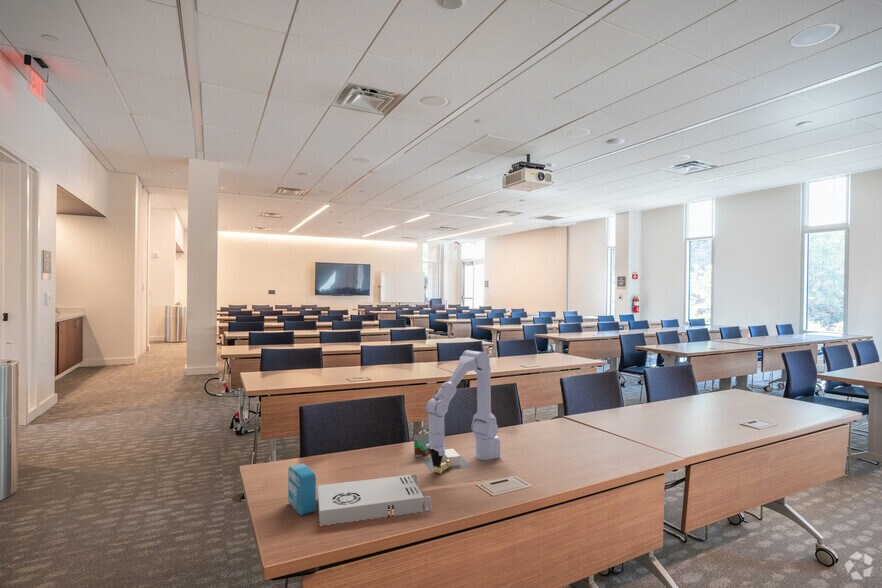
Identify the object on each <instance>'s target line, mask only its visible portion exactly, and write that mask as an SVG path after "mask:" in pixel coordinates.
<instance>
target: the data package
mask: <svg viewBox="0 0 882 588" xmlns="http://www.w3.org/2000/svg"><path fill="white" fill-rule="evenodd" d="M287 470H288V471H287V472H288V473H287V475H288V476H287V477H288V478H287V479H288V481H287V482H288V486H287V488H288V490H287V493H288V494H287V499H288V504H289V503H290V504H291V505H292V506H293V507H294V508H293V507H292V506H291V505H290V504H289V505H290V506H291V507H292V508H293V510H295V509H296V510H295V512H297V514H298V515H299V514H300V515H299V516H304V515H308V514H310V513H314V512H316V510H317V477H316V473H315V472H314V470H312V469H311V468H310V467H308V466H307V465H306V464H305V463H299V464H294V465H290V466H289V467H288V469H287Z"/></svg>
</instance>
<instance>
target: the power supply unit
mask: <svg viewBox="0 0 882 588" xmlns="http://www.w3.org/2000/svg"><path fill="white" fill-rule="evenodd" d="M317 507H318V509H317V510H318V520H319V522H320V523H319V526H320V525H328V524H333V523H342V522H349V523H352V522H351V521H356V522H360V521H359V520H363V521H367V520H366V519H370V520H375V519H374V518H377V519H381V518H380V517H384V518H388V517H390V516H392V517H396V516H395V515H399V516H404V515H403V514H406V515H411V514H410V513H413V514H418V513H417V512H420V513H423V512H425V511H426V512H427V511H428V512H432V510H433V509H432V496H430V495H427V496H425V495H424V493H423V491H422V490H421V489H420V487H419V485H418V474H415V473H413V474H403V475H396V476H395V475H394V476H387V477H378V478H372V479H371V478H368V479H362V480H361V479H359V480H355V481H354V480H353V481H345V482H344V481H343V482H337V483H336V482H335V483H327V484H319V485H317ZM388 509H390V510H388ZM392 509H394V515H392ZM388 511H390V516H388ZM387 516H388V517H387ZM342 524H343V523H342ZM328 526H329V525H328Z"/></svg>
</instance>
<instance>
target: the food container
mask: <svg viewBox="0 0 882 588" xmlns="http://www.w3.org/2000/svg"><path fill="white" fill-rule="evenodd" d="M413 442H414V443H413V444H414V445H413V446H414V447H413V449H414V457H416V458H417V457H426V456H428V455H430V452H429V449H431V448H430V447H426V444H429V427H424V426H420V430H418V431H417V432H416V433H415V434H413Z"/></svg>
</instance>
